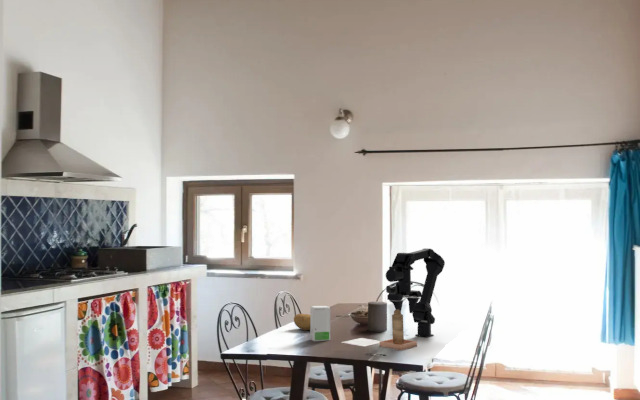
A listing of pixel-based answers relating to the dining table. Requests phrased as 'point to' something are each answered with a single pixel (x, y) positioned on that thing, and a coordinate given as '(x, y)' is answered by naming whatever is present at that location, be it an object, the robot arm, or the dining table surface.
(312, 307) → the skincare box
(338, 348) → the dining table surface
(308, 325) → the potato
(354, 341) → the felt mat
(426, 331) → the robot arm
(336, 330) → the dining table surface
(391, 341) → the terracotta dish
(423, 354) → the dining table surface
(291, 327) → the dining table surface
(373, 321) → the pillar candle
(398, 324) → the pepper mill
